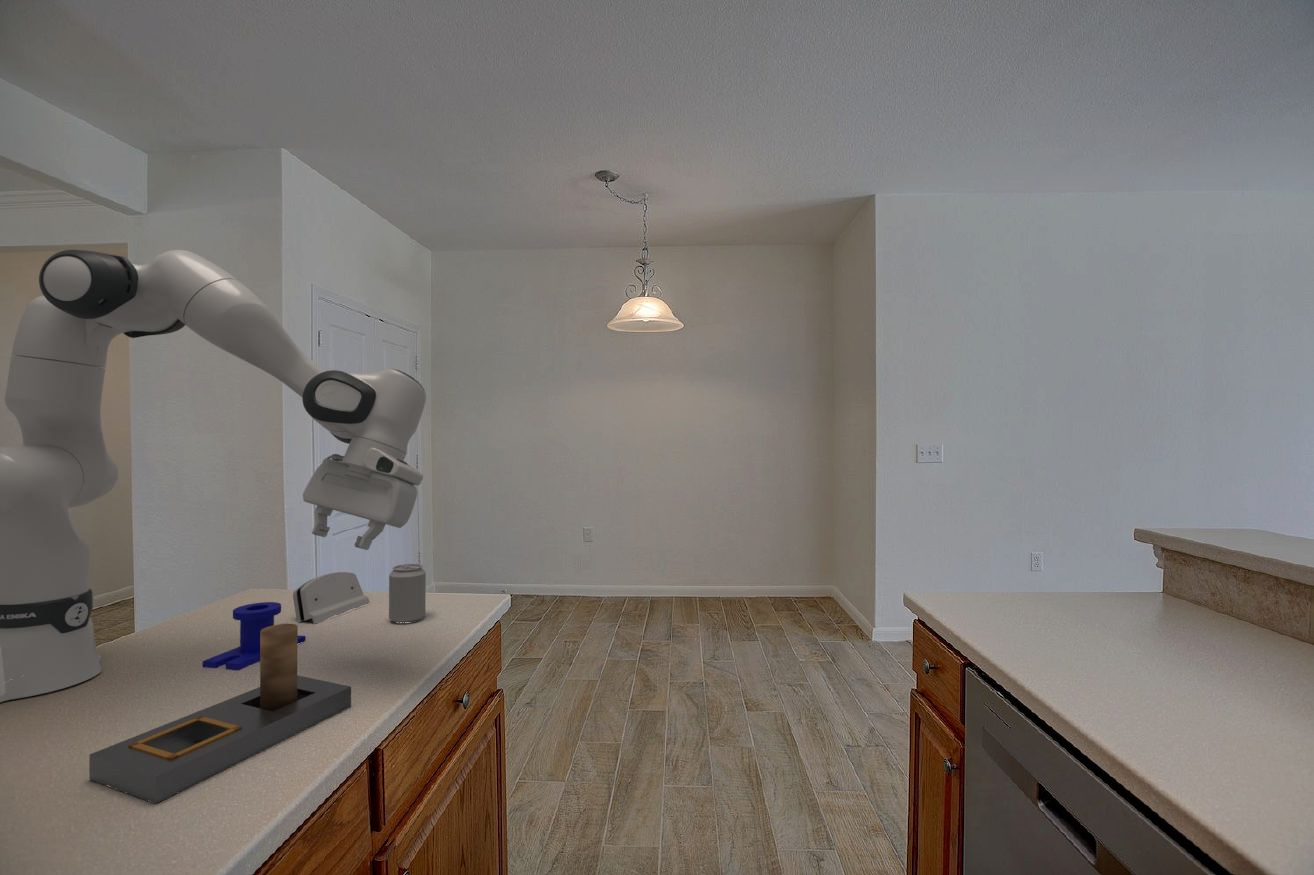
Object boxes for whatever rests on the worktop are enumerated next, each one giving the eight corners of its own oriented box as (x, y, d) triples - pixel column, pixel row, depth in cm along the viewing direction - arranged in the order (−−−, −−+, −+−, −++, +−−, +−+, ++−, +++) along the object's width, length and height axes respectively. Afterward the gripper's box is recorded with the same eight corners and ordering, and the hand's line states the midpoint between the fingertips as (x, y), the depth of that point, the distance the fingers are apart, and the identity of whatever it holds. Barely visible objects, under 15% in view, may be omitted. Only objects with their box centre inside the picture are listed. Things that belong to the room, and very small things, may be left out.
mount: (273, 639, 119) (273, 596, 119) (305, 642, 117) (305, 598, 117) (202, 668, 104) (202, 618, 104) (238, 671, 103) (239, 620, 103)
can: (405, 626, 126) (406, 570, 126) (381, 622, 130) (381, 567, 130) (432, 617, 133) (433, 564, 133) (408, 613, 136) (409, 561, 136)
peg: (252, 726, 83) (252, 633, 83) (273, 711, 87) (274, 623, 87) (284, 726, 83) (284, 633, 83) (304, 711, 87) (304, 623, 87)
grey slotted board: (89, 779, 70) (89, 752, 70) (292, 693, 93) (292, 672, 93) (155, 803, 65) (155, 774, 65) (350, 706, 89) (351, 685, 89)
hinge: (314, 624, 128) (302, 580, 129) (297, 630, 129) (285, 585, 130) (371, 603, 144) (360, 564, 145) (356, 608, 145) (345, 569, 146)
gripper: (313, 446, 101) (278, 524, 97) (406, 467, 93) (372, 552, 90) (341, 457, 106) (309, 532, 103) (431, 478, 99) (400, 559, 95)
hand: (339, 542), depth 96 cm, fingers open, 8 cm apart
